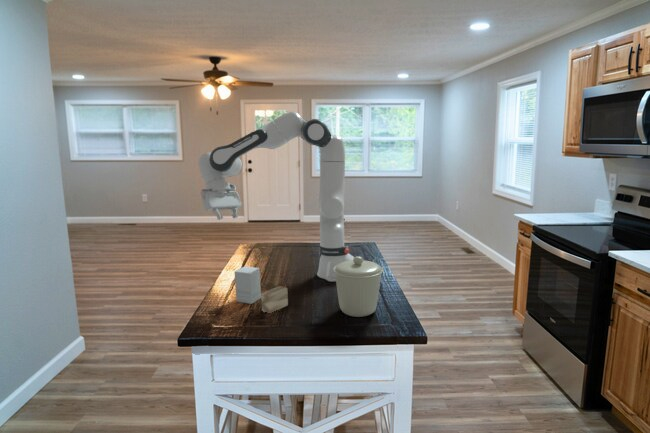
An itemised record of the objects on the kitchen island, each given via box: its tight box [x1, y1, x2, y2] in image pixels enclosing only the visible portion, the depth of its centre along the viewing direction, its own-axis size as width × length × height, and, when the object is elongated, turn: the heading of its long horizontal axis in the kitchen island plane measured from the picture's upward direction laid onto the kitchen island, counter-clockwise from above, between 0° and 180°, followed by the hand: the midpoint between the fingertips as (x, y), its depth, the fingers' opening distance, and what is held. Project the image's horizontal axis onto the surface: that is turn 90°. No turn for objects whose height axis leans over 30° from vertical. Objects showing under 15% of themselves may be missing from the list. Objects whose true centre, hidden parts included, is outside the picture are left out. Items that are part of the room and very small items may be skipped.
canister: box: [333, 255, 384, 318], centre depth 156 cm, size 18×18×21 cm
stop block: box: [260, 285, 289, 314], centre depth 161 cm, size 4×10×7 cm, turn 143°
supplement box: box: [234, 266, 262, 305], centre depth 169 cm, size 7×7×13 cm
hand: (228, 218), depth 182 cm, fingers open, 8 cm apart
